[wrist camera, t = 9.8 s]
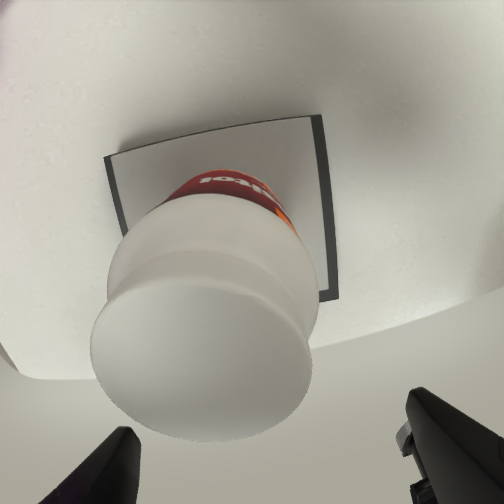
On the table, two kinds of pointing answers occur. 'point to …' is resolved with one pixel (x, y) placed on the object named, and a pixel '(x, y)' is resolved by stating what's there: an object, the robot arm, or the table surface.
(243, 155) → the scale
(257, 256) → the pill bottle
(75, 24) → the table surface
